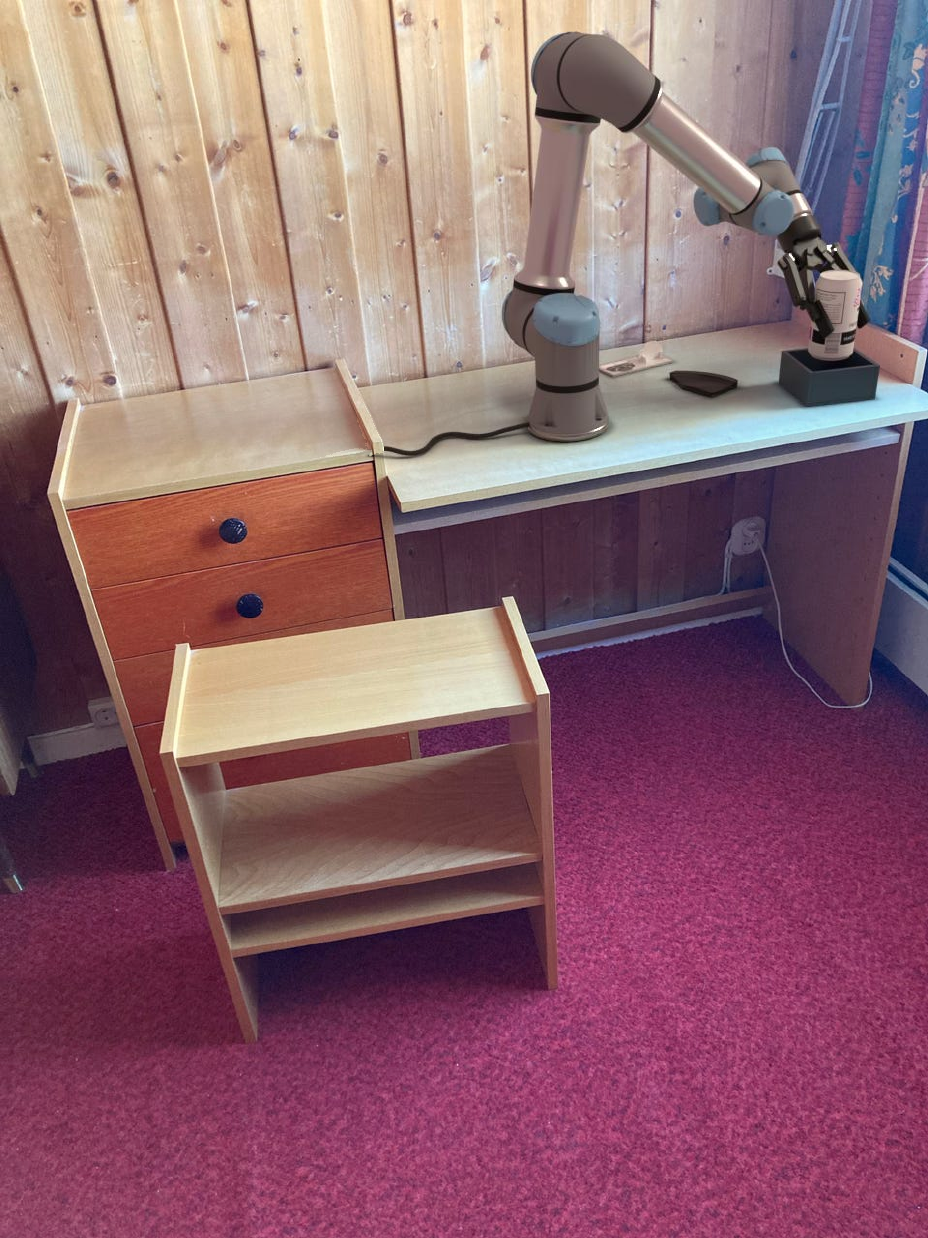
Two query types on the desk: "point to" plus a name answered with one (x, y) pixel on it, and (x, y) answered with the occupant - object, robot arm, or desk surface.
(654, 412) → the desk surface
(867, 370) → the bin
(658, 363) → the white plate with bracket
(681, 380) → the fan shaped piece
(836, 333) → the supplement can
